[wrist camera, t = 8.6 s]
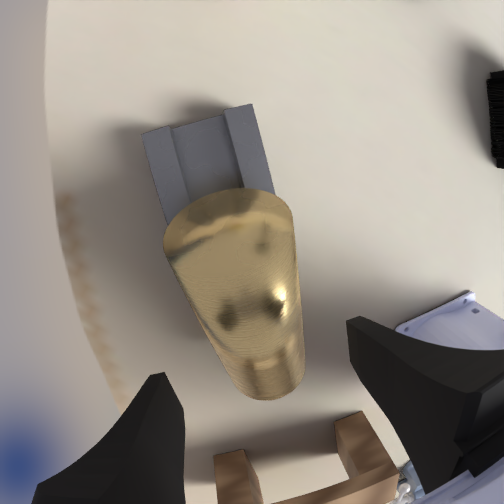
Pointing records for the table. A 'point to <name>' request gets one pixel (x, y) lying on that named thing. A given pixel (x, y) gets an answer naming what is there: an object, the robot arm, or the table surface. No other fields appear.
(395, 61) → the table surface
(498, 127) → the cpu cooler
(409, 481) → the vise
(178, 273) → the brass cylinder
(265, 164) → the v block
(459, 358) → the robot arm
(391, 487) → the wooden bridge block
